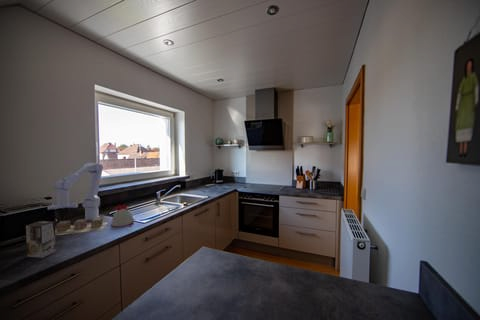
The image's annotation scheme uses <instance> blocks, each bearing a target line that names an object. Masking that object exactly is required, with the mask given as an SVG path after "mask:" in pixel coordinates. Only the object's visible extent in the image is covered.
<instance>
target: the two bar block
mask: <svg viewBox="0 0 480 320" xmlns="http://www.w3.org/2000/svg"><path fill="white" fill-rule="evenodd" d="M103 219H104V218H103V217H97V218H94V219H93V220H90V223H91V228H98V227H101V226H102V225H103V222H104V221H103Z"/></svg>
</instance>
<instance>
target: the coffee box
mask: <svg viewBox="0 0 480 320" xmlns="http://www.w3.org/2000/svg"><path fill="white" fill-rule="evenodd" d="M25 230H26V231H25V233H26V234H25V235H26V236H25V237H26V239H25V240H26V257H28V258H29V257H30V258H41V259H43V258H45V257H47V256H49V255H51V254H53V253H55V252H56V249H57V248H56V247H57V246H56V243H57V242H56V235H55V230H56V221H51V220H49V221H48V220H38V221H35V222H33V223H30V224H26V225H25Z"/></svg>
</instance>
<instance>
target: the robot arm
mask: <svg viewBox="0 0 480 320" xmlns="http://www.w3.org/2000/svg"><path fill="white" fill-rule="evenodd" d="M103 168H104V166H103V164H102V163H101V162H85V164H83V166H82V167H81V168H79V170H77V171H76V172H75V173H73V172H72V173H69V174H68V175H67V176H66V177H63V178H62V179H61V180H60V179H59V180H57V181H56V182H55V183H54V185H53V188H54V189H55V191H56V205H54V204H53V205H48V206H47V210H48V211H49V210H55V211H56V212H57V214H58V215H59V217H60V221H65V220H66V218H67V214H68V212H69V211H70V209H72V208H74V209H75V208H78V207H79V203H70V189H72V186H73V184H74V183H76V182H77V181H78V180H80V178H81V176H83V175H84V174H86V173H89V174H91V175H92V178H91V182H90V186H89V191H88V195H87V196H85V197H84V200H83V201H82V204H81V205H82V207H83V208H84V211H85V212H84V213H85V215H84V217H85V218H84V219H87V221H92V220H93V219H94V218H101V216H100V213H99V207H100V205H101V198H100V196H98V193H99V188H100V183H101V178H102V173H103Z"/></svg>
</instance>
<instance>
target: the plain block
mask: <svg viewBox="0 0 480 320" xmlns="http://www.w3.org/2000/svg"><path fill="white" fill-rule="evenodd" d="M70 225H71V220H60V221H59V222H58V223H55V230H56V232H61V231H67V230H68V229H70Z"/></svg>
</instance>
